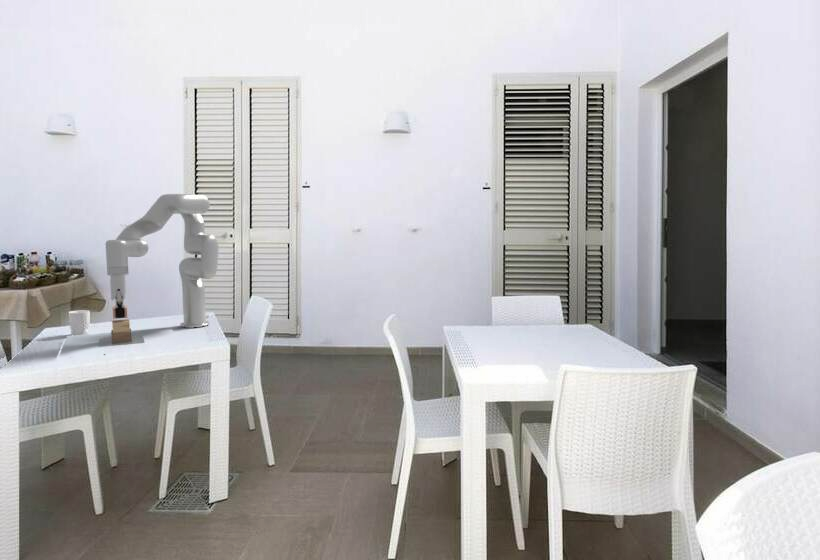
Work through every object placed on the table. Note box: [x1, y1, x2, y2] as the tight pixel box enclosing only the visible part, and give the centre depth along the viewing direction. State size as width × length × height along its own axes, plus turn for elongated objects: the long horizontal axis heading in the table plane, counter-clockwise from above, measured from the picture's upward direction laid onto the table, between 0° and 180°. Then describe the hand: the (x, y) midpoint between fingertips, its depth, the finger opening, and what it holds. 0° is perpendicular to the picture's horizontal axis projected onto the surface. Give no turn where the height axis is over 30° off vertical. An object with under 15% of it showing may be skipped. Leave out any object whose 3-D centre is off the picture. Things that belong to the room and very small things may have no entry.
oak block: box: [111, 318, 131, 333], centre depth 225 cm, size 6×6×4 cm
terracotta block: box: [112, 305, 128, 320], centre depth 225 cm, size 5×5×4 cm
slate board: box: [98, 334, 145, 348], centre depth 226 cm, size 16×16×1 cm
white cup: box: [68, 309, 91, 336], centre depth 242 cm, size 8×8×10 cm
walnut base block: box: [110, 328, 132, 343], centre depth 226 cm, size 7×7×4 cm
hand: (120, 316), depth 225 cm, fingers closed on terracotta block, 4 cm apart
